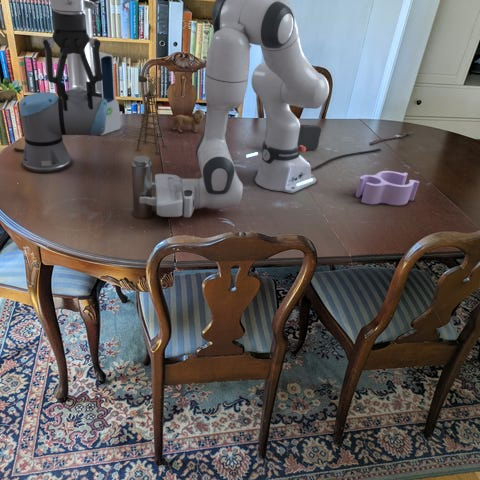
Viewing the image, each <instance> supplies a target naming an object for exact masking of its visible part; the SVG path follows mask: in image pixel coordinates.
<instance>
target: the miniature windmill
mask: <svg viewBox="0 0 480 480" xmlns="http://www.w3.org/2000/svg"><path fill="white" fill-rule="evenodd" d="M153 70H154V72H155V73H153V74H152V70H151V71H150V72H149V73H150V74H148V77H149V78H147V77H146V76H142V75H138V83H147V82H148V83H147V85H148V90H147V91H148V92H147V93H145V94H144V95H143V97H144V98H146V101H145V107H144V112H143V114H142V121H141V126H140V131H139V133H138V139H137V147H136V151H139V149H140V144H141V143H144V144H147V143H148V144H152V145H155V154H158V153H159V150H158V144H159V143H160V142H161V143H162V147H165V146H166V144H165V141H164V138H165V136H163V132H162V127H161V125H162V124H161V122H160V117H159V112H158V108H157V104H156V103H157V101H156V98H157V97H159V96H160V94H158V93H156V90H157V87H158V84H157V83H158V82H159V81H158V77H157V76H158V70H157V68H155V67H153ZM150 106H151V111H150ZM154 110H155V111H154ZM150 114H151V115H150ZM149 117H150V118H152V122H150V121H149ZM155 117H156V120H157V123H156V122H155ZM148 124H151V125H153V127H148ZM156 125H157V126H156ZM157 129H159V133H160V135H157V133H156V132H157V131H156V130H157ZM148 130H152V131H153V134H149V133H148ZM143 133H144V134H143ZM147 136H150V137H154V142H153V141H147ZM143 138H144V140H142V139H143ZM157 138H160V139H158V141H157Z"/></svg>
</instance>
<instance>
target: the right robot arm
mask: <svg viewBox="0 0 480 480" xmlns="http://www.w3.org/2000/svg"><path fill="white" fill-rule="evenodd" d="M211 22H212V27H213V32H214V33H213V35H212V36H211V39H210V43H209V47H208V51H207V55H206V61H205V71H204V96H205V102H206V103H205V104H206V112H205V113H206V114H205V120H204V121H205V122H204V130H203V133H202V136H201V138H200V140H199V141H198V143H197V145H196V149H195V156H196V160H197V162H198V166H199V170H200V173H201V177H200V178H182V177H181V176H178V175H177V174H170V173H157V174H155V175H154V182H152V192H154V193H155V194H154V195H155V196H152V198H150V197H146V195H143V196H142V195H141V196H139V202H140V203H146V204H149V205H152V207H153V206H154V207H155V208H156V215H157V216H160V217H164V218H179V217H182V216H183V218H191V217H192V215H193V213H194V211H195V210H199V209H203V208H204V209H205V208H208V209H211V210H214V209H215V210H217V209H230V208H234V207H237V206H238V205H239V204H240V203H241V202H242V199H243V196H244V183H243V182H242V181H241V180H240V178H239V176H238V174H237V171H236V168H235V164H234V162H233V159H232V156H231V154H230V148H229V145H228V141H227V139H226V132H227V127H228V120H229V115H230V112H231V111H232V110H235V109H237V108H238V107H240V106H241V105H242V104H243V103H244V100H245V96H246V92H247V89H248V82H249V76H250V75H249V74H250V63H251V62H250V61H251V60H250V57H251V56H250V55H251V54H250V51H251V48H252V45H255V46H260V50H261V54H262V58H263V61H264V62H261V63H259V64H258V65H257V66H256V67H255V68H254V70H253V71H252V75H251V79H250V82H251V87H252V90H253V92H254V93H255V94H256V95H257V97H258V98H259V100H260V102H261V104H262V107H263V110H264V113H265V133H264V140H263V142H262V147H261V148H262V149H261V159H260V163H259V166H258V169H257V172H256V175H255V177H254V181H255V183H256V184H257V185H259V186H260V187H262V188H264V189H266V190H270V191H277V192H284V193H288V194H294V193H296V192H299V191H301V190H302V189H305V188H307V187H309V186H311V185H313V184H316V183H317V178H316V177H315V176H314V175H313V174H312V171H315V170H318V169H319V168H321V167H322V166H324V165H326V164H328V163H329V162H332V161H334V160H337V159H341V158H344V157H349V156H354V155H361V154H368V153H373V152H378V151H381V150H382V148H376V149H370V150H365V151H358V152H351V153H345V154H342V155H339V156H335V157H332V158H329V159H327V160H325V161H324V162H322V163H320V164H319V165H317V166H315V167H314V168H312V166H311V161H309V160H307V159H305V158H304V157H303V156H302V155H301V154H300V152H301V153H305V152H306V151H307V150H306V148H305V147H304V146H303V145H300V146H299V145H298V144H297V143H298V137H299V131H300V125H301V123H300V120H299V118H298V117H297V116H296V115H295V114H294V113H293V112H292V110H291V108H290V106H293V107H297V108H301V109H314V110H316V109H319V108H320V107H322V106H323V105H324V104H325V102H326V101H327V100H328V97H329V93H330V85H329V81H328V80H327V78H326V77H325V76H324V75H322V74H321V73H320V72H318V71H317V69H315V68H314V67H313V66H312V64H311V63H310V61H309V60H308V58H307V57H306V55H305V53H304V51H303V47H302V44H301V38H300V32H299V28H298V24H297V19H296V16H295V14H294V10H293V8H292V6H291V4H290V2H289V1H288V0H214V3H213V5H212V9H211ZM258 155H259V152H257V151H255V152H253V153H249V154H246V158H251V157H254V156H258Z"/></svg>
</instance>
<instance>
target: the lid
mask: <svg viewBox="0 0 480 480" xmlns="http://www.w3.org/2000/svg"><path fill="white" fill-rule="evenodd" d="M65 91H66V100H68V101H71V102H83V101H87V100H88V99H89V96H88V92H87V91H85V90H80V89H72V90H68V89H66V90H65Z"/></svg>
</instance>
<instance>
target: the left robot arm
mask: <svg viewBox="0 0 480 480" xmlns="http://www.w3.org/2000/svg"><path fill="white" fill-rule="evenodd" d="M49 1H50V9H52V10H53V12H52V13H51V16H52V26H53V33H52V34H51V35H52V36H51V37H47V38H45V37H42V38H41V43H42V45H43V48H44V56H45V68H46V69H45V70H46V80H47V81H48V82H49V83H52V84H54V85H55V90H56V91H55V92H56V93H55V92H50V91H41V92H34V93H32V94H28V95H25V96H23V97H22V98H21V99H20V101H19V103H18V104H19V116H20V119H21V125H22V132H23V137H24V148H17V147H14V149H13V150H14V151H16V152H20V153H22V158H21V159H22V160H21V161H22V166H23V168H24V169H25V170H27V171H29V172H33V173H39V174H46V173H56V172H61V171H63V170H66V169H67V168H69V167H70V166H71V163H72V159H71V155H70V153H69V151H68V150H67V149H68V148H67V147H66V145H65V143H64V140H63V136H102V135H101V134H103V133H104V131H105V123H106V107H107V100H106V99H102V93H101V92H100V91H99V90H98V89H97V84H96V82H98V81H101V80H102V72H101V64H100V55H99V52H100V47H101V41H100V40H99V39H98V38H94V28H93V13H92V12H93V11H94V10H95V9H96V8H97V3H98V2H100V1H101V0H49ZM54 43H55V44H56V45H57V47H59V56H58V62H57V66H56V70H55V71H56V72H55V76H54V64H53V51H52V48H53V47H54ZM66 63H67V74H68V75H67V76H68V89H67V90H72V89H80V90H85V91H87V92H88V96H89V99H88V100H87V101H83V102H71V101H68V100H66V91H67V90H66V85H65V83H64V82H63V77H64V73H65V67H66ZM103 135H104V134H103Z"/></svg>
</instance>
